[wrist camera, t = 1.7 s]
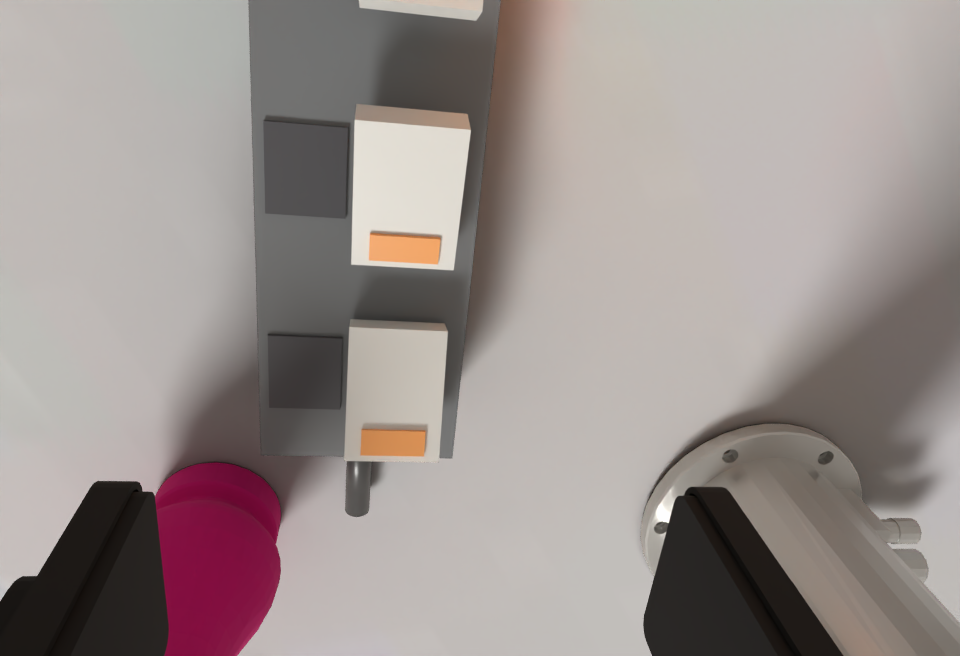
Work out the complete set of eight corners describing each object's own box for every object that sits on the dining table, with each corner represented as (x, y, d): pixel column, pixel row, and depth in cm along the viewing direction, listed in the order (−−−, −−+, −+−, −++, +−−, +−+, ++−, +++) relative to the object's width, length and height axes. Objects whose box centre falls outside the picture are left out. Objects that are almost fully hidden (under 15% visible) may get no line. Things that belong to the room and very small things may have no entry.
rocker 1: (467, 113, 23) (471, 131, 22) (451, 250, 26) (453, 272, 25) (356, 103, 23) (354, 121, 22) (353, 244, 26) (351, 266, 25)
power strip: (499, -182, 25) (526, -225, 20) (434, 497, 38) (441, 572, 33) (268, -218, 24) (237, -274, 19) (278, 495, 36) (262, 574, 32)
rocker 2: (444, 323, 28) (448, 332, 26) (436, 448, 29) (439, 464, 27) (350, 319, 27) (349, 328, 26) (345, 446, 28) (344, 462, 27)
